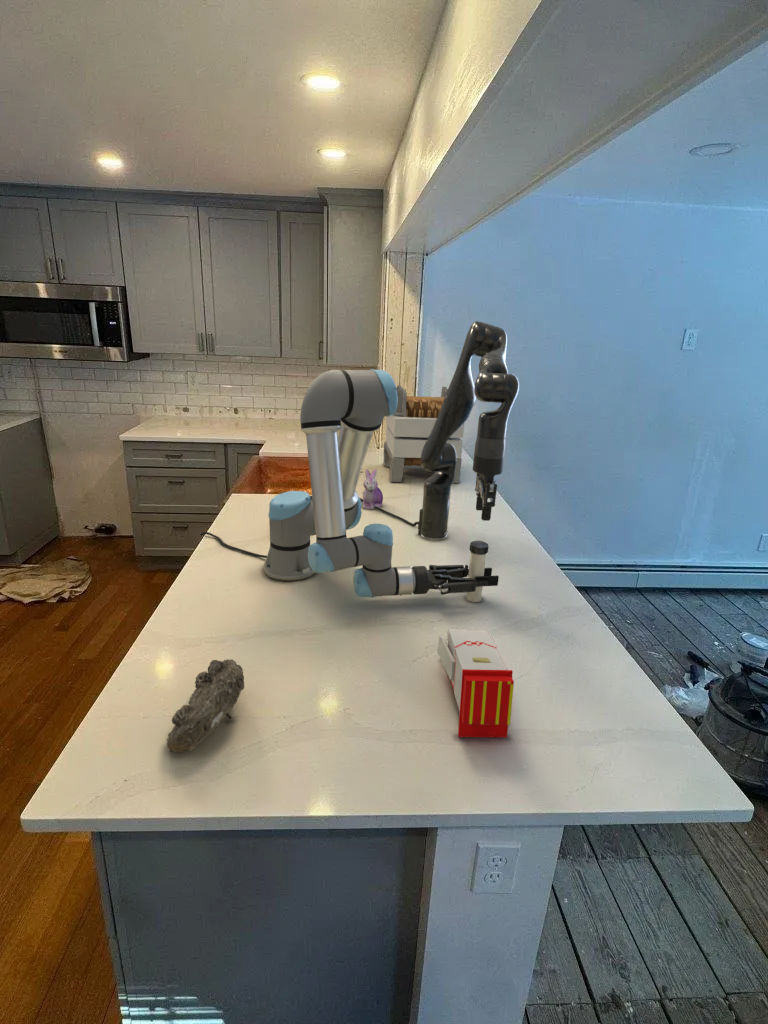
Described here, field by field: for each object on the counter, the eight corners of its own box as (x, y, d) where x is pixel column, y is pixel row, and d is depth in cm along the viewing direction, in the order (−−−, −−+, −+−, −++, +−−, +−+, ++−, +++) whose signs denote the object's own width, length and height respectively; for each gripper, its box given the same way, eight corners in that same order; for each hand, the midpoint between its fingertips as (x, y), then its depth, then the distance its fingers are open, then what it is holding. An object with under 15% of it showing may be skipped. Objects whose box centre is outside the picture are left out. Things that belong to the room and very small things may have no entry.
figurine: (367, 511, 220) (368, 474, 215) (356, 503, 228) (357, 467, 223) (388, 508, 224) (390, 471, 219) (377, 500, 233) (378, 465, 228)
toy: (488, 613, 130) (523, 677, 101) (484, 667, 133) (517, 744, 104) (435, 612, 130) (455, 676, 101) (432, 666, 133) (451, 743, 103)
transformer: (382, 463, 289) (386, 382, 275) (445, 464, 293) (451, 384, 279) (390, 482, 257) (394, 392, 243) (460, 483, 261) (468, 394, 247)
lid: (465, 549, 153) (466, 542, 152) (478, 545, 156) (479, 539, 155) (478, 556, 149) (479, 549, 148) (491, 552, 152) (492, 545, 151)
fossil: (192, 660, 117) (244, 628, 112) (224, 691, 120) (276, 661, 115) (142, 746, 98) (202, 712, 93) (182, 779, 101) (242, 748, 96)
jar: (462, 597, 158) (468, 544, 152) (473, 593, 160) (479, 541, 155) (473, 603, 155) (479, 550, 149) (484, 599, 157) (490, 546, 152)
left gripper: (404, 578, 161) (482, 574, 165) (419, 608, 145) (504, 603, 149) (405, 554, 158) (484, 551, 163) (420, 582, 142) (508, 578, 147)
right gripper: (510, 461, 137) (502, 525, 142) (497, 447, 150) (491, 506, 156) (479, 460, 136) (473, 524, 142) (469, 446, 150) (464, 505, 155)
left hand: (494, 576), depth 156 cm, fingers closed on jar, 4 cm apart
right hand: (482, 514), depth 149 cm, fingers open, 7 cm apart
